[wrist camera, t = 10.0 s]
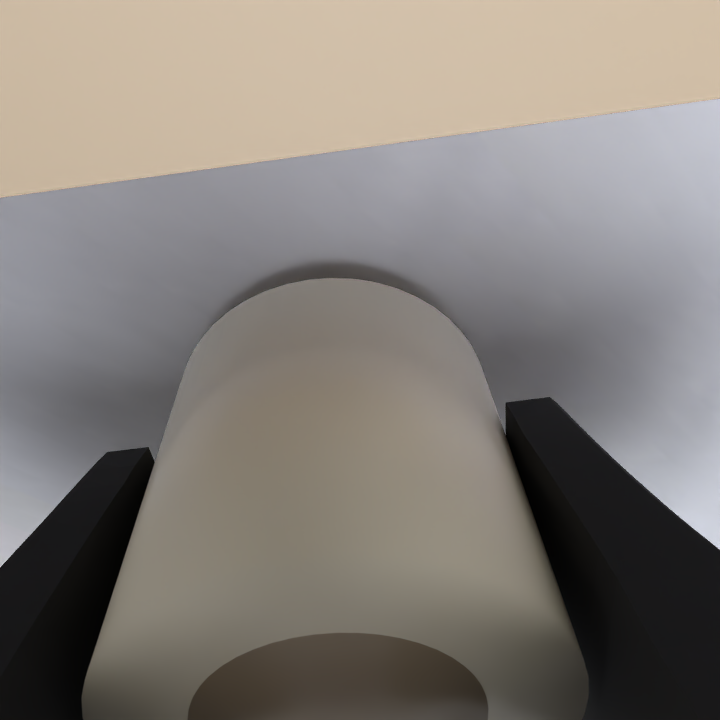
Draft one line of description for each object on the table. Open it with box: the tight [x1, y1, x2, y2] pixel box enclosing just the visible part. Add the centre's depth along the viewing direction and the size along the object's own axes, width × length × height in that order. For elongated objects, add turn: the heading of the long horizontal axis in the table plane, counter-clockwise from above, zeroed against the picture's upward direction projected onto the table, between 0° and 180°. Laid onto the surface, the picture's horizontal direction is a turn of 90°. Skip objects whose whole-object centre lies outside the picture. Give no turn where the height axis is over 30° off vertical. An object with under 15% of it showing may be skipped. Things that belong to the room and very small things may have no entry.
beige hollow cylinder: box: [81, 278, 589, 720], centre depth 9 cm, size 5×5×5 cm
